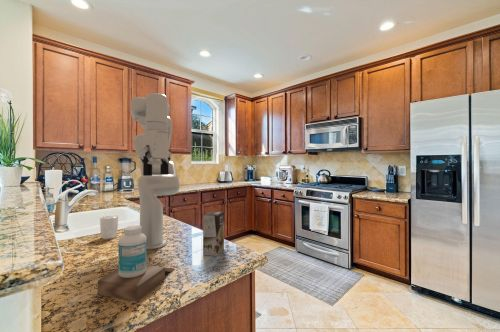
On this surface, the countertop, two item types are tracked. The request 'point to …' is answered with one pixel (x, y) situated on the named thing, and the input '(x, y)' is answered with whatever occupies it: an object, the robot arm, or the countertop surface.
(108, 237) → the white cup
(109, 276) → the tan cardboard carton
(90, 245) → the countertop surface
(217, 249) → the coffee box
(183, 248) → the countertop surface
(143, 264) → the pill bottle
